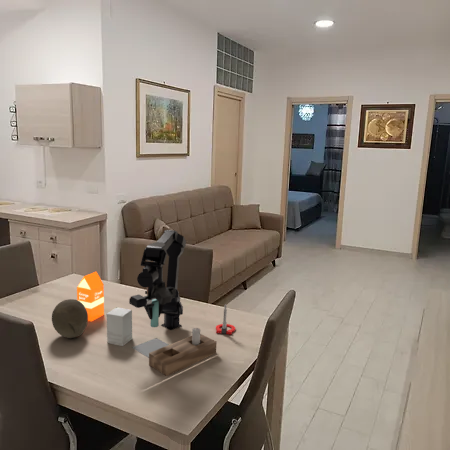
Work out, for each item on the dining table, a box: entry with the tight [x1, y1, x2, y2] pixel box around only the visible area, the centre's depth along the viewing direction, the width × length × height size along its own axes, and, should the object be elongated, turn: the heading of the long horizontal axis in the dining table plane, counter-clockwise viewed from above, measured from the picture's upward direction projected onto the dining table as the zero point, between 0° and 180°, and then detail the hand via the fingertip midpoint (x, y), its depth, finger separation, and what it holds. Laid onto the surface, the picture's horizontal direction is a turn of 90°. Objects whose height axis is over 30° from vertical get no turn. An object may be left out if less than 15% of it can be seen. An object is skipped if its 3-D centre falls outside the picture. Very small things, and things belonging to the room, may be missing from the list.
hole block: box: [148, 333, 217, 377], centre depth 156 cm, size 10×24×5 cm, turn 137°
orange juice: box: [76, 271, 105, 322], centre depth 189 cm, size 8×9×20 cm
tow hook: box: [215, 304, 236, 335], centre depth 182 cm, size 8×13×9 cm
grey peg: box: [191, 327, 201, 346], centre depth 160 cm, size 3×3×10 cm
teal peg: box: [150, 299, 160, 328], centre depth 161 cm, size 3×3×10 cm
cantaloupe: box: [51, 299, 89, 339], centre depth 170 cm, size 14×14×15 cm
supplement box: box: [106, 306, 133, 347], centre depth 168 cm, size 7×7×13 cm
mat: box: [131, 337, 170, 359], centre depth 164 cm, size 12×12×1 cm
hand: (154, 318), depth 161 cm, fingers closed on teal peg, 3 cm apart
